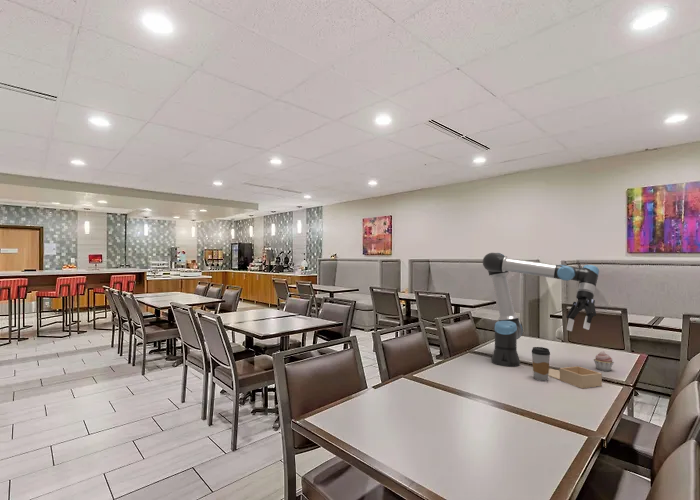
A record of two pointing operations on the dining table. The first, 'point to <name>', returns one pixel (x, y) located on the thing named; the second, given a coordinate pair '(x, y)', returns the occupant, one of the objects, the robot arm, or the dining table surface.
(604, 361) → the cupcake
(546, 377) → the coffee cup
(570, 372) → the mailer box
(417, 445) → the dining table surface
